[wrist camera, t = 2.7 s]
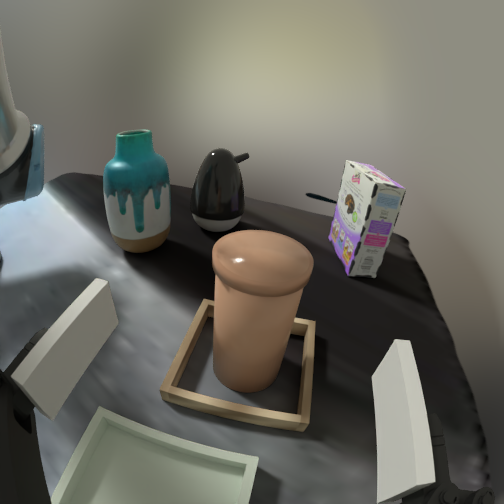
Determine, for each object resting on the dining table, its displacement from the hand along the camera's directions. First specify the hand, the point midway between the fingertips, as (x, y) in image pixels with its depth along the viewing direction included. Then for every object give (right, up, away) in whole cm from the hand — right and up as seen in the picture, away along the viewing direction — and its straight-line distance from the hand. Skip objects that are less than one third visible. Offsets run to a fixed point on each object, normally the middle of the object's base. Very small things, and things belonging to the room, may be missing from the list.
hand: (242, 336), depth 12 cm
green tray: (-7, -17, +2) cm, 18 cm away
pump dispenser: (-6, +9, +44) cm, 45 cm away
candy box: (+19, +3, +39) cm, 44 cm away
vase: (-18, +4, +34) cm, 39 cm away
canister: (0, -8, +17) cm, 19 cm away
